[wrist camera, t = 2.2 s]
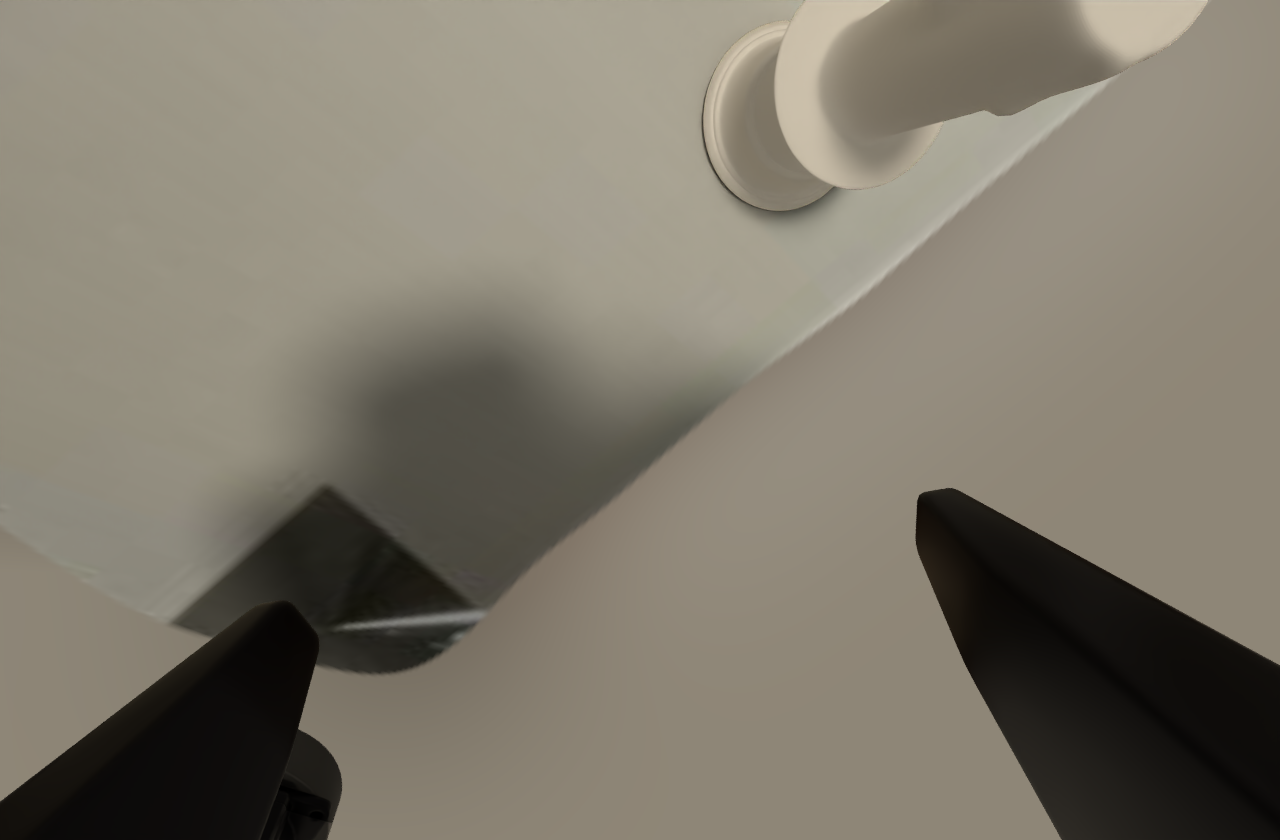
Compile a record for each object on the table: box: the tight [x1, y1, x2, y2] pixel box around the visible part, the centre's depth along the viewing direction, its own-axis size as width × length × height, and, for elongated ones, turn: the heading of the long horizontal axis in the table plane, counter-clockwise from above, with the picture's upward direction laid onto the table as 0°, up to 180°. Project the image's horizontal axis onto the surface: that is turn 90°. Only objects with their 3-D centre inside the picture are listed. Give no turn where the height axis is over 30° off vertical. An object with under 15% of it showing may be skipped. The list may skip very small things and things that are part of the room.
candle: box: [703, 0, 1208, 211], centre depth 12 cm, size 5×5×12 cm
